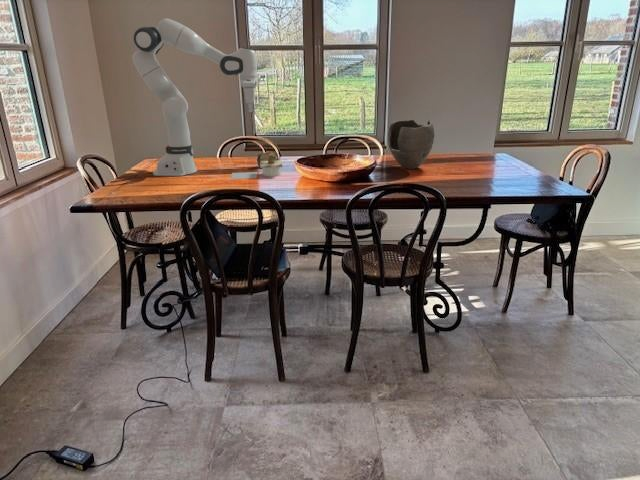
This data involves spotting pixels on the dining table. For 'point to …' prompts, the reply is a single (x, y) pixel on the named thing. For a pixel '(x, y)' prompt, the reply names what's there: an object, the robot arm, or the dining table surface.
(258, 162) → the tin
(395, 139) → the clay pot
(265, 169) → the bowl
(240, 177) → the mat
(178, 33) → the robot arm
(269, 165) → the lid
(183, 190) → the dining table surface
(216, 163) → the dining table surface
